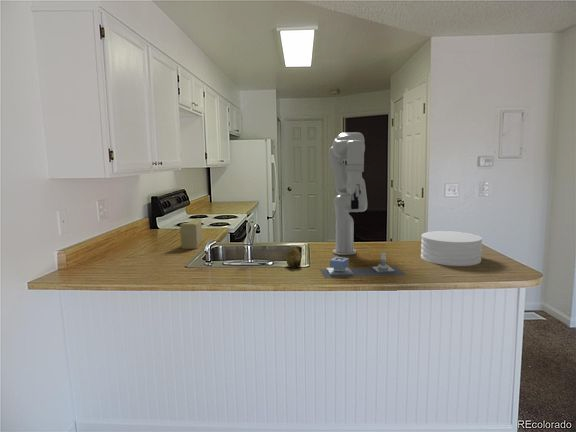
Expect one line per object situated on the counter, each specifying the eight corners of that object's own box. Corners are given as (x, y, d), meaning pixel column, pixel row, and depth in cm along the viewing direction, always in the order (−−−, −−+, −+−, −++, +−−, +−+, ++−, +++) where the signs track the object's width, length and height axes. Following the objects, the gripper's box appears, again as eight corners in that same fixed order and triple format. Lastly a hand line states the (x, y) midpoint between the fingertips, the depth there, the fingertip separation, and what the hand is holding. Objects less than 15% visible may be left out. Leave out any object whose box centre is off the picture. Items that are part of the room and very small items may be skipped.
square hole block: (335, 264, 182) (335, 256, 182) (348, 265, 179) (348, 258, 178) (329, 267, 177) (329, 259, 176) (343, 269, 173) (343, 261, 173)
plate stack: (463, 269, 181) (464, 244, 179) (409, 258, 202) (410, 236, 201) (491, 258, 198) (492, 236, 197) (439, 249, 220) (439, 229, 218)
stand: (371, 268, 183) (372, 251, 182) (388, 267, 184) (389, 250, 183) (377, 273, 175) (377, 255, 174) (394, 272, 176) (395, 254, 175)
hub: (326, 269, 182) (326, 257, 182) (347, 268, 183) (347, 256, 182) (330, 276, 173) (330, 263, 172) (353, 275, 174) (353, 262, 173)
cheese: (193, 241, 253) (192, 217, 251) (208, 241, 252) (207, 217, 250) (180, 249, 231) (179, 223, 229) (196, 249, 230) (195, 223, 228)
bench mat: (319, 270, 183) (319, 269, 183) (396, 267, 186) (396, 266, 186) (324, 278, 170) (324, 278, 170) (406, 275, 173) (406, 274, 173)
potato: (282, 269, 186) (282, 252, 184) (287, 262, 198) (287, 246, 197) (300, 269, 184) (300, 253, 183) (304, 262, 197) (303, 246, 196)
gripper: (343, 167, 186) (343, 206, 189) (350, 169, 171) (350, 211, 174) (359, 167, 186) (358, 206, 189) (368, 169, 171) (367, 211, 175)
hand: (354, 208), depth 182 cm, fingers closed
